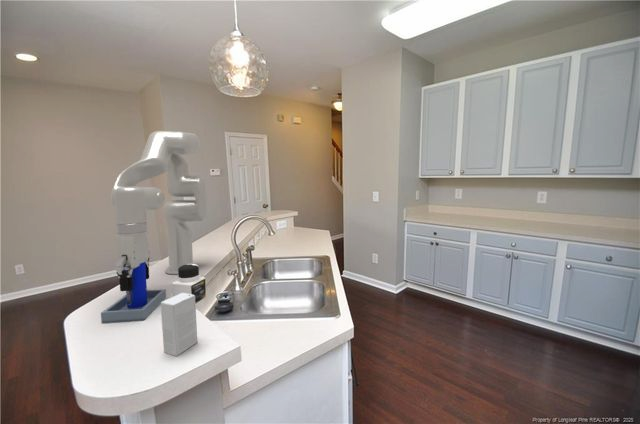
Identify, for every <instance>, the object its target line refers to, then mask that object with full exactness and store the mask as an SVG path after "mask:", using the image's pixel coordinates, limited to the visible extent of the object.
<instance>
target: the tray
mask: <svg viewBox="0 0 640 424" xmlns="http://www.w3.org/2000/svg"><path fill="white" fill-rule="evenodd" d="M165 300H167V289H163V288H162V289H147V305H145V306H144V307H143V308H141V309H135V310H130V309H128V308H127V296H126V294H125V295H123V296H122V297H120V299H118V300H116V301H115V302H114V303H113V304H110V306H109V307H107V308H105V309H104V310H103V311H102V312H100V318H101V320H100V321H101V324H110V323H111V324H112V323H125V322H139V321H142V322H143V321H145V320H146V319H148V317H149V316H150V315H151V314H152V313H153V312H154V311H155V310H156V309H157V308H158V307H159V306H161V302H162V301H165Z"/></svg>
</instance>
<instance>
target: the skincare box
mask: <svg viewBox="0 0 640 424" xmlns="http://www.w3.org/2000/svg"><path fill="white" fill-rule="evenodd" d="M196 305H197V304H195V295H192V294H187V293H180V294H178V295H176V296H174V297H173V296H172V297H169V298H168V299H167V298H166V299H165V300H164V301H162V302H161V304H160V313H161V329H162V341H163V342H162V343H163V352H164V354H169V355H172V356H175V357H178V356H180V355H181V354H182V353H184V352H185V351H186V350H187V351H188V349H189V348H190V347H192V346H194V345H195V344H197V343H198V326H197V307H196Z"/></svg>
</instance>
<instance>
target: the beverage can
mask: <svg viewBox="0 0 640 424" xmlns="http://www.w3.org/2000/svg"><path fill="white" fill-rule="evenodd" d="M125 267H126V266H125ZM125 271H126V272H127V273H128V270H125ZM131 277H133V290H132V291H125V293H126V294H125V295H126V296H127V308H128V309H130V310H135V309H141V308H143V307H144V306H145V305H147V290H148V288H147V279H146V268H145V260H144V259H142V261H141V263H140V266H138V267H136V268H135V269H133V271H132V274H131Z"/></svg>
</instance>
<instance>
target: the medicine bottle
mask: <svg viewBox="0 0 640 424" xmlns="http://www.w3.org/2000/svg"><path fill="white" fill-rule="evenodd" d="M199 267H200V266H199V265H198V264H195V263H193V264H186V265H182V266H181V267H179V268H178V274H177V276H178V280H175V281H174V282H172V283H171V285H172V287H171V289H172V297H174V296H176V295H178V294H180V293H187V294H192V295H195V305H197V304H198V303H199V302H201V301H203V300H205V299H206V297H207V294H206V291H207V289H206V277H204V276H203V277H202V276H200V268H199Z"/></svg>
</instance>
